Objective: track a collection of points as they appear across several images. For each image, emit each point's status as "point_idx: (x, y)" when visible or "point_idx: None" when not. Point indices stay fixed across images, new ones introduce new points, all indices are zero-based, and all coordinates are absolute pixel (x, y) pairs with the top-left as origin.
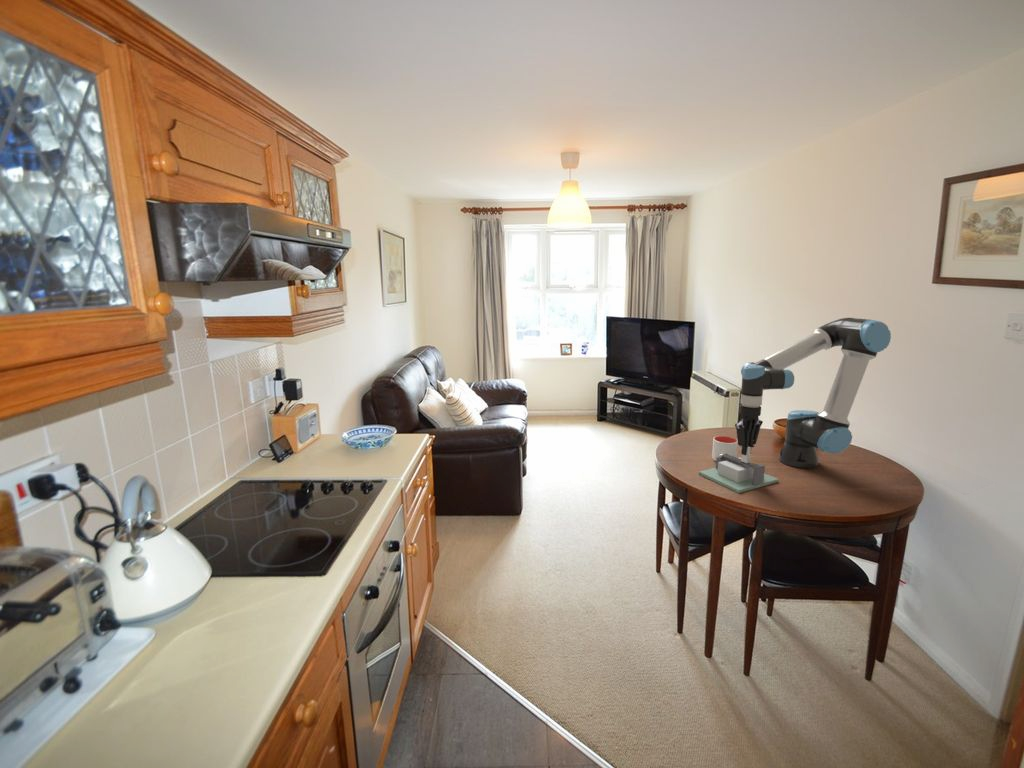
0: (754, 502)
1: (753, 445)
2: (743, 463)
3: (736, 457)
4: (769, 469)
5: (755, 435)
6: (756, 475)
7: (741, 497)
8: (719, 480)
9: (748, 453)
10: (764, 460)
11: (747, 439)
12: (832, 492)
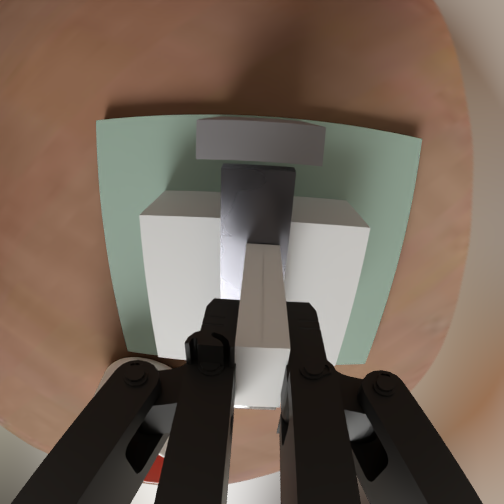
0: (433, 40)
1: (190, 354)
2: (284, 266)
3: (111, 370)
4: (40, 243)
5: (94, 485)
6: (299, 122)
7: (439, 104)
8: (391, 266)
9: (274, 298)
10: (14, 305)
11: (335, 471)
12: None
